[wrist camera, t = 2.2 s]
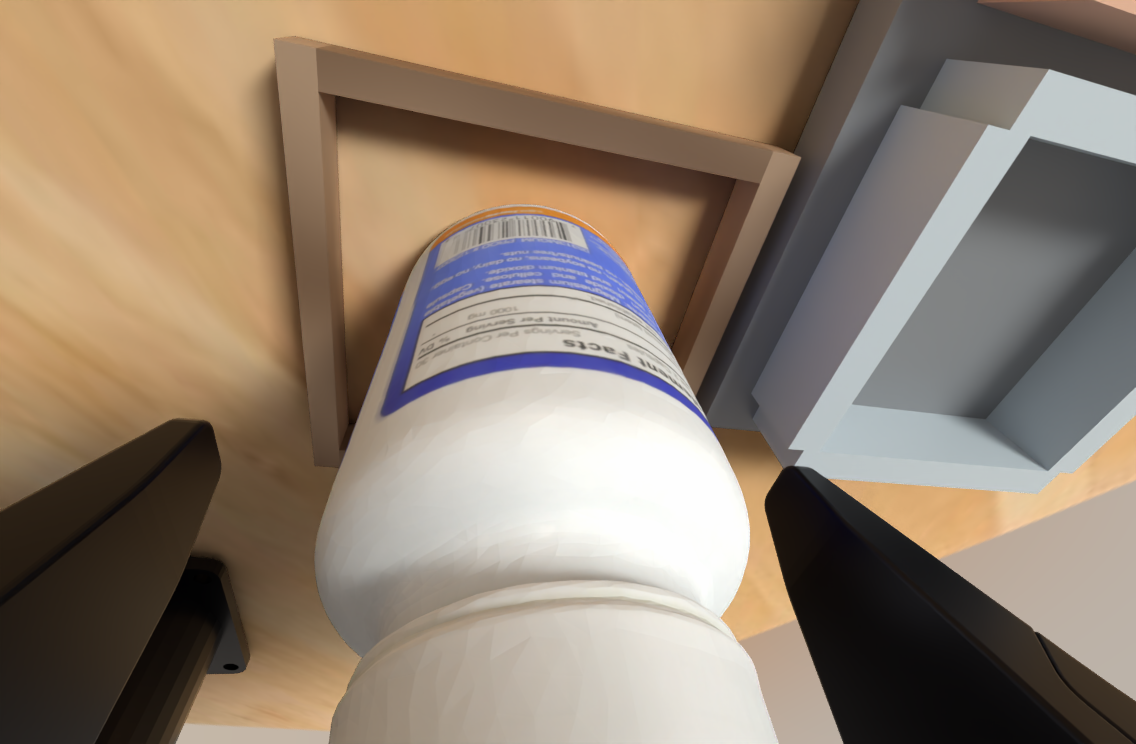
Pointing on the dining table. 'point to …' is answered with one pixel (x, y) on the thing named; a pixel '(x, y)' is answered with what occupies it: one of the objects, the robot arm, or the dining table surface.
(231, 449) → the dining table surface
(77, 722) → the robot arm
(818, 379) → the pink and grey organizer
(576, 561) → the pill bottle
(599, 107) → the tray
